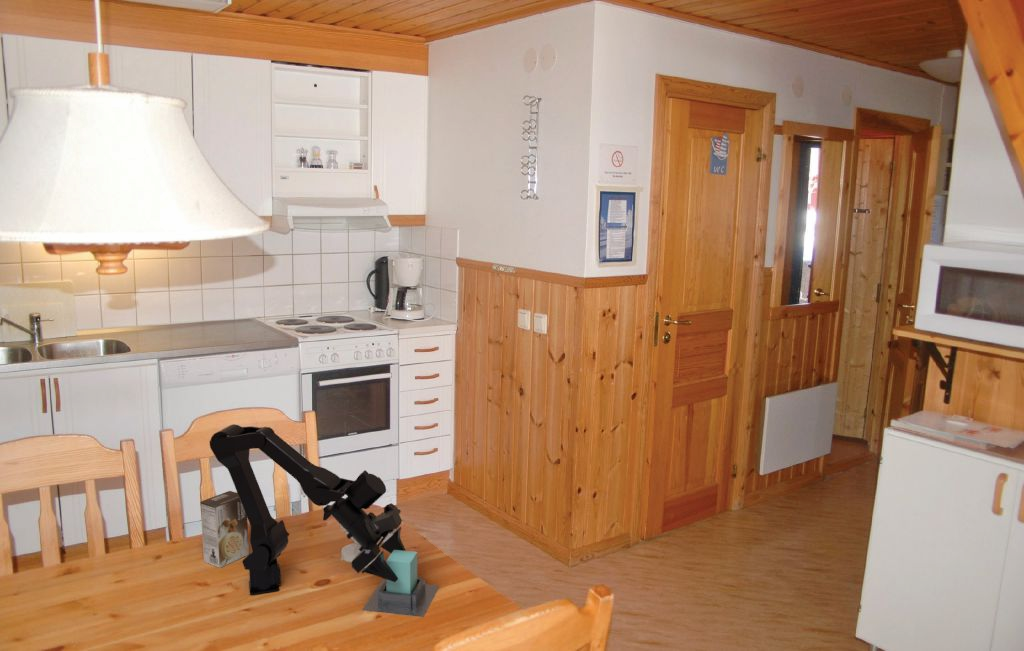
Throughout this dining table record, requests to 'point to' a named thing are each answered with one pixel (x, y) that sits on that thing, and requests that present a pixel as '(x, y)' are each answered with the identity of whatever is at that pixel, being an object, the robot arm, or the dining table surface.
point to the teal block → (403, 571)
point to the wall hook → (350, 549)
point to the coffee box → (224, 529)
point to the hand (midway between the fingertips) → (402, 570)
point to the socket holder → (402, 600)
